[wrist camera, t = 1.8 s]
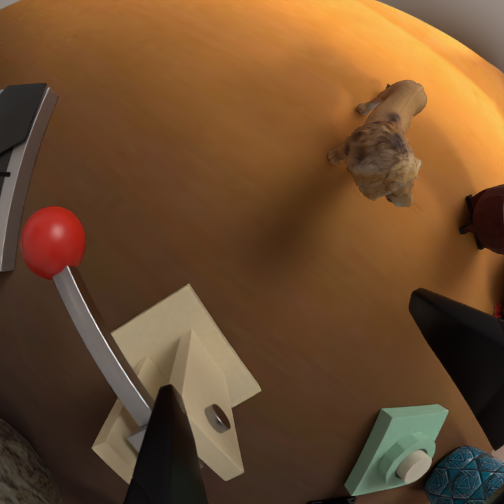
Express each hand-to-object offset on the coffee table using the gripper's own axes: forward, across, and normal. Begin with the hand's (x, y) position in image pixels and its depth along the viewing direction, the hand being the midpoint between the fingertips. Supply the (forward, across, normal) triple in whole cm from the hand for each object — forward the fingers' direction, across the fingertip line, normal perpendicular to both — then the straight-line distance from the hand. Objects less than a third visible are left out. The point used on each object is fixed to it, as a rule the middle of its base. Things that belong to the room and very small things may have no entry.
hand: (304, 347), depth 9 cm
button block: (0, -10, +26) cm, 28 cm away
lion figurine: (+16, -14, -1) cm, 21 cm away
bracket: (+9, +7, +10) cm, 15 cm away
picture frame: (+21, +24, -10) cm, 34 cm away
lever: (+5, +8, +2) cm, 10 cm away
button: (-3, -10, +25) cm, 27 cm away
